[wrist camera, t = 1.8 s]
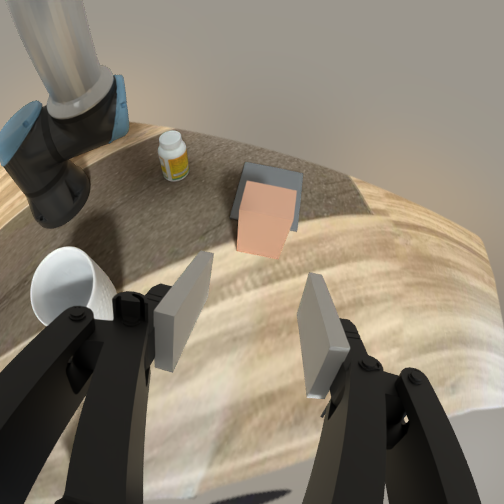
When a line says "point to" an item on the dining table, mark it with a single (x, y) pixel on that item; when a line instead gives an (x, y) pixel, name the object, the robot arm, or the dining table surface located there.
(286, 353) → the dining table surface
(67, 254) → the mug
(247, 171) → the mat
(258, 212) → the terracotta block
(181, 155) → the supplement bottle
